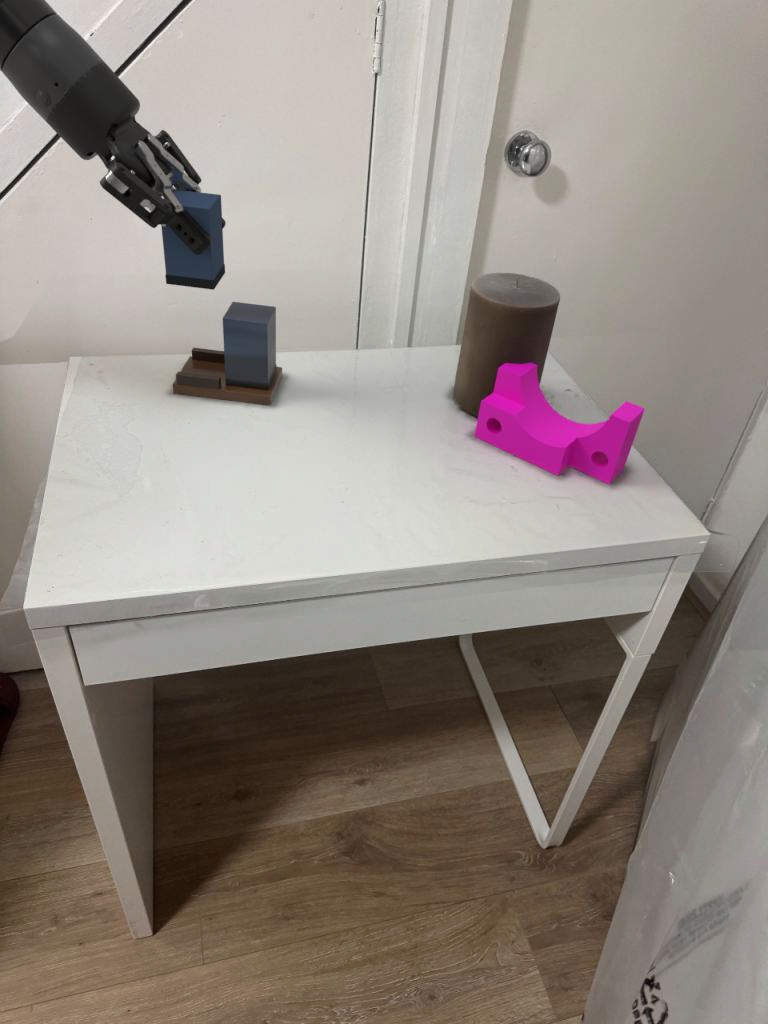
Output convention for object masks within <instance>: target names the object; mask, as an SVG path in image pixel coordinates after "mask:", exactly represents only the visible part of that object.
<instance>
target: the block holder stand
mask: <svg viewBox="0 0 768 1024" xmlns="http://www.w3.org/2000/svg"><path fill="white" fill-rule="evenodd" d="M276 311H277V307H276V306H272V305H264V304H256V303H249V302H248V303H247V302H239V301H232V302H231V303H230V306H229V307H228V309H227V310H226V312H225V314H224V315H223V317H222V333H223V334H222V335H223V337H222V338H223V350H219V349H218V350H216V349H210V348H199V347H192V349H191V355H190V356H189V357H188V359H187V360H186V362H185V363H184V365H183V367H182V368H181V370H180V371H177V372H176V374H175V379H174V381H173V383H172V393H173V394H176V395H183V396H192V397H198V398H199V397H200V398H209V399H214V400H215V399H216V400H224V401H233V402H241V403H247V404H248V403H249V404H257V405H265V406H271V405H272V402H273V400H274V398H275V395H276V392H277V390H278V387H279V385H280V382H281V380H282V377H283V367H281V366H277V312H276Z"/></svg>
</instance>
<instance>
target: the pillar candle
mask: <svg viewBox="0 0 768 1024" xmlns="http://www.w3.org/2000/svg"><path fill="white" fill-rule="evenodd" d="M468 296H469V298H468V303H467V310H466V315H465V320H464V327H463V332H462V337H461V338H462V340H461V343H460V344H461V345H460V350H459V355H458V362H457V368H456V372H455V380H454V386H453V392H452V394H453V397H454V400H455V402H456V403H457V405H458V406H460V408H461V409H462V410H464V412H467V413H468V414H470V415H473V416H475V417H477V418H478V415H479V410H480V405H481V401H482V400H483V399H485V398H486V397H488V396H489V395H491V394H492V393H493V392H494V387H495V382H496V377H497V372H498V368H499V367H500V366H502V365H503V364H505V363H510V364H525V363H534V364H536V365H538V366H537V376H538V382H539V386H540V387H541V382H542V377H543V373H544V368H545V364H546V360H547V355H548V352H549V347H550V343H551V339H552V335H553V331H554V327H555V323H556V318H557V313H558V309H559V304H560V301H561V294H560V292H559V289H557V288H556V287H555V286H554V285H552V284H551V283H550V282H548V281H546V280H543V279H541V278H538V277H534V276H529V275H525V274H519V273H516V272H515V273H514V272H490V273H480V274H478V275H477V277H475V278H474V279H473V280H472V283H471V285H470V291H469V295H468Z"/></svg>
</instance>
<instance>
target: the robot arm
mask: <svg viewBox="0 0 768 1024" xmlns="http://www.w3.org/2000/svg"><path fill="white" fill-rule="evenodd" d="M0 72H1V73H2V74H3V76H4V77H5V78H6V79H7V81H9V82H10V84H11V85H12V86H13V88H14V89H15V90H16V91H17V93H18V94H19V95H20V96H21V97H22V98H23V100H25V102H26V103H27V104H28V105H29V106H30V107H31V108H32V109H33V110H34V111H35V112H36V113H37V114H38V115H39V116H40V118H42V120H43V121H44V122H46V123H47V125H49V127H51V129H52V130H53V131H54V132H55V133H56V134H57V135H58V136H59V137H60V138H61V139H62V140H63V141H64V142H65V143H66V144H67V145H68V146H69V147H70V148H71V149H72V150H73V151H74V152H75V154H76V155H78V157H79V158H81V159H82V160H84V161H90V160H93V159H94V158H95V157H97V156H98V157H99V159H100V160H101V162H102V163H103V165H104V167H105V168H106V169H107V173H106V174H105V175H104V176H103V177H102V178H101V179H100V180H99V185H100V186H101V187H102V189H103V190H104V191H106V192H107V193H108V194H109V195H111V196H112V197H113V198H114V199H116V200H117V201H118V202H120V204H122V205H123V206H124V207H125V208H127V209H128V210H129V211H131V212H132V213H133V214H134V215H135V216H137V217H138V218H139V219H141V220H142V222H144V223H145V224H147V225H148V226H149V227H150V228H153V229H156V228H157V227H158V226H159V225H160V226H161V225H162V226H163V227H167V226H169V227H170V229H171V230H172V231H173V232H174V233H175V234H176V235H177V236H178V237H179V238H180V239H181V240H182V241H183V242H184V243H185V244H186V245H187V246H188V247H189V248H190V249H191V250H192V252H193V253H194V254H196V255H200V254H201V253H202V252H203V251H205V250H206V249H207V248H208V247H209V246H210V245H211V243H212V238H211V236H210V235H209V234H208V233H207V232H206V231H205V230H204V229H203V228H202V227H201V226H200V225H199V224H198V223H197V221H196V220H195V219H194V218H193V217H192V216H191V215H190V214H189V213H188V212H187V211H186V210H185V211H184V212H183V213H182V211H183V207H182V205H181V204H180V202H179V201H178V200H177V198H176V197H175V196H174V194H173V193H172V190H173V189H176V190H184V191H193V192H201V193H202V189H201V187H200V186H199V185H200V184H201V183H202V178H201V176H200V175H199V173H198V172H197V170H196V169H195V168H194V167H193V165H192V164H191V163H190V162H189V160H188V158H187V157H186V156H185V154H184V153H183V152H182V150H181V149H180V147H179V146H178V145H177V144H176V142H175V141H174V139H173V138H172V137H171V135H170V134H169V133H168V132H167V130H164V129H161V131H159V133H158V134H156V135H153V134H152V133H151V132H150V131H149V130H147V129H146V128H145V127H144V126H143V125H141V124H140V123H139V122H137V120H136V115H137V114H138V113H139V111H140V108H141V102H140V100H139V99H138V97H137V96H136V95H135V94H134V93H133V91H132V90H130V89H129V87H128V86H127V85H126V84H125V83H124V81H122V80H121V79H120V77H119V76H118V75H117V74H116V73H115V72H114V71H113V69H112V68H111V67H110V66H109V65H108V64H107V63H106V62H105V61H104V60H103V58H102V57H101V56H100V55H99V54H98V53H97V51H95V49H94V48H93V47H92V46H91V45H90V44H89V43H88V42H87V41H86V39H85V38H84V37H83V36H82V35H81V34H80V33H79V32H77V30H76V29H74V28H73V27H72V26H71V25H70V24H69V23H68V22H67V21H65V20H64V19H63V18H62V17H61V16H60V15H59V14H58V13H57V11H55V9H54V8H53V7H52V6H51V5H50V4H49V3H48V1H47V0H0ZM164 199H165V200H166V201H165V200H164ZM146 208H147V209H146ZM226 222H227V221H226V220H225V219H224V218H223V217H222V229H224V228H225V226H226Z"/></svg>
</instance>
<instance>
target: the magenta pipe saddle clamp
mask: <svg viewBox="0 0 768 1024" xmlns="http://www.w3.org/2000/svg"><path fill="white" fill-rule="evenodd" d="M537 366H538V365H536V364H534V363H525V364H510V363H505V364H503V365H502V366H500V367H499V368H498V372H497V377H496V382H495V387H494V392H493V393H492V394H491V395H489V396H488V397H486V398H485V399H483V400H482V401H481V405H480V410H479V415H478V417H477V420H476V426H475V430H474V431H475V432H474V438H477V439H479V440H481V441H483V442H486V443H487V444H489V445H492V446H493V447H495V448H498V449H500V450H502V451H505V452H506V453H508V454H511V455H513V456H515V457H518V458H519V459H521V460H524V461H526V462H528V463H530V464H532V465H534V466H536V467H538V468H540V469H543V470H545V471H546V472H549V473H552V475H555V476H559V475H560V474H561V473H563V472H564V471H565V470H566V469H567V468H568V467H570V468H573V469H575V470H577V471H579V472H581V473H583V474H586V475H588V476H590V477H592V478H594V479H596V480H599V481H601V482H603V483H605V484H608V485H610V484H611V483H612V482H613V481H614V480H615V479H616V478H617V477H618V475H620V474H621V472H623V471H624V469H625V466H626V463H627V461H628V458H629V455H630V453H631V450H632V446H633V444H634V441H635V439H636V435H637V433H638V429H639V426H640V424H641V421H642V418H643V415H644V412H645V410H646V409H645V407H643V406H640V405H638V404H635V403H632V402H630V401H627V400H626V401H624V402H623V403H622V404H621V405H620V406H619V407H618V408H617V409H616V410H614V411H613V412H612V413H611V414H610V415H609V418H608V419H606V420H604V421H602V422H597V423H581V422H577V421H573V420H571V419H568V418H567V417H565V416H563V415H562V414H560V413H559V412H558V411H557V410H555V409H554V408H553V407H552V405H551V404H550V403H549V402H548V400H547V399H546V397H545V395H544V394H543V392H542V389H541V385H540V386H539V382H538V376H537Z"/></svg>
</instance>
